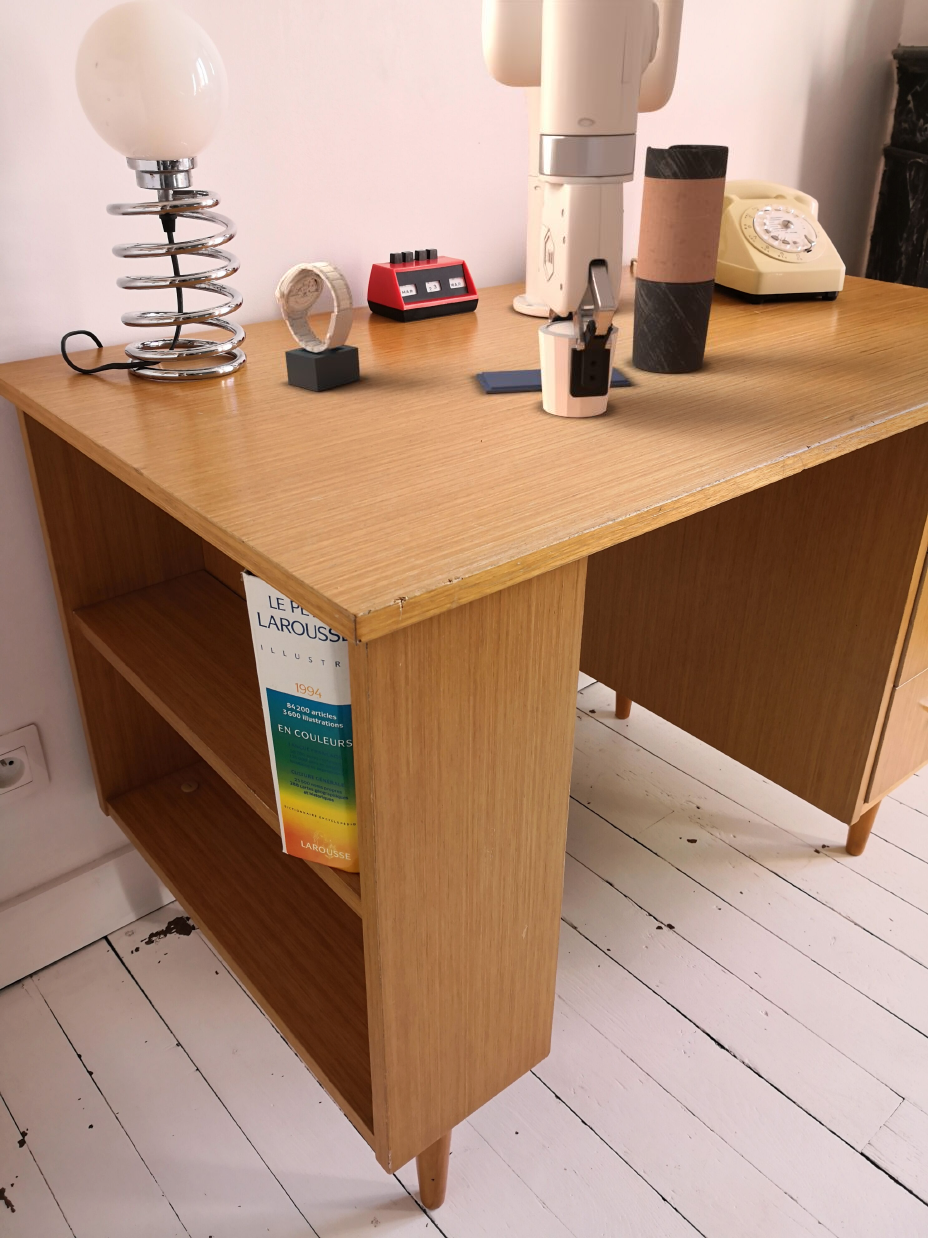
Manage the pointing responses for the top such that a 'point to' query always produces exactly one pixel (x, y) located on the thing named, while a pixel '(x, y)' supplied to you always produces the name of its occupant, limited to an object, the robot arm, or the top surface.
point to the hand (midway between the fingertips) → (576, 381)
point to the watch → (315, 359)
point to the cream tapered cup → (566, 371)
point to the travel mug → (677, 255)
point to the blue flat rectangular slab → (527, 380)
